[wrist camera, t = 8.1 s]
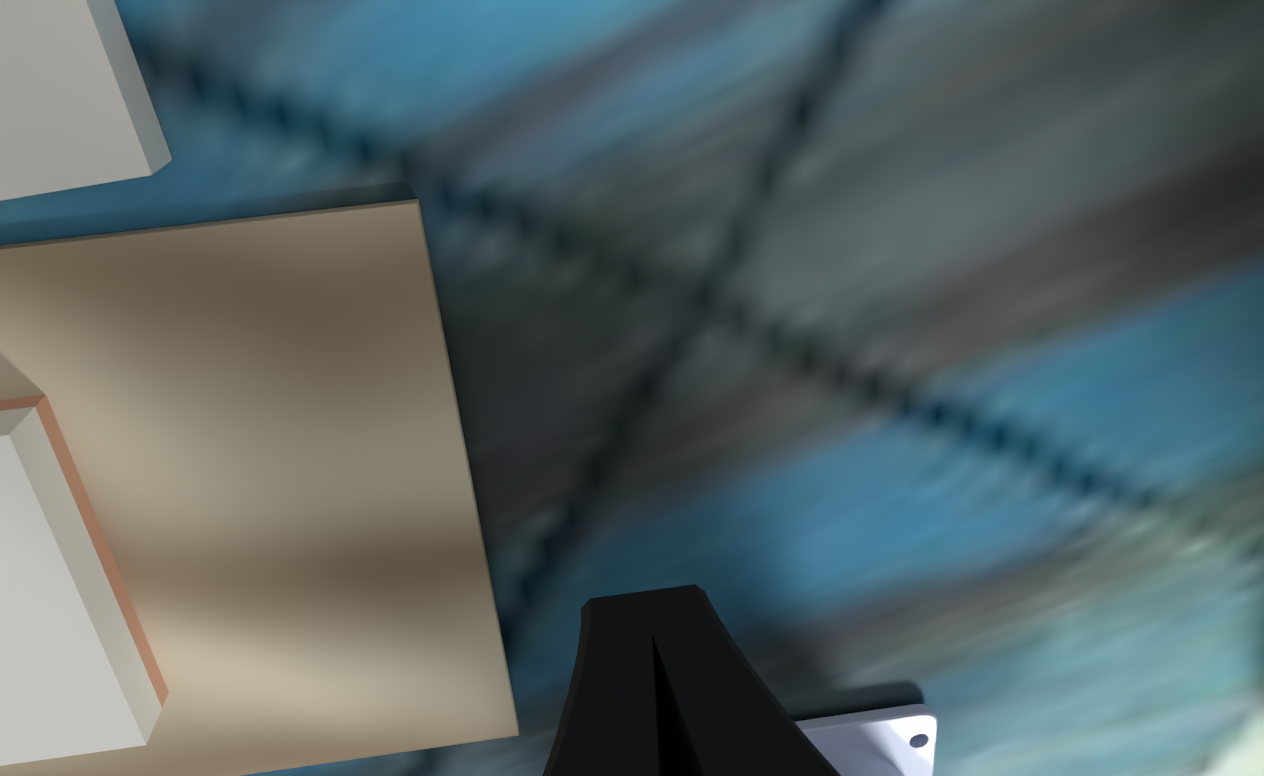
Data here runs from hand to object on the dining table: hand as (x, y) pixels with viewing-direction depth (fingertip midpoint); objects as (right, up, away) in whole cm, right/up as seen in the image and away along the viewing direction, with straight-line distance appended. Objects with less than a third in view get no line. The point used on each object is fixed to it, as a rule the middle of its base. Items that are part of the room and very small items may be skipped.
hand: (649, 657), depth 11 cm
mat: (-13, -1, +10) cm, 16 cm away
